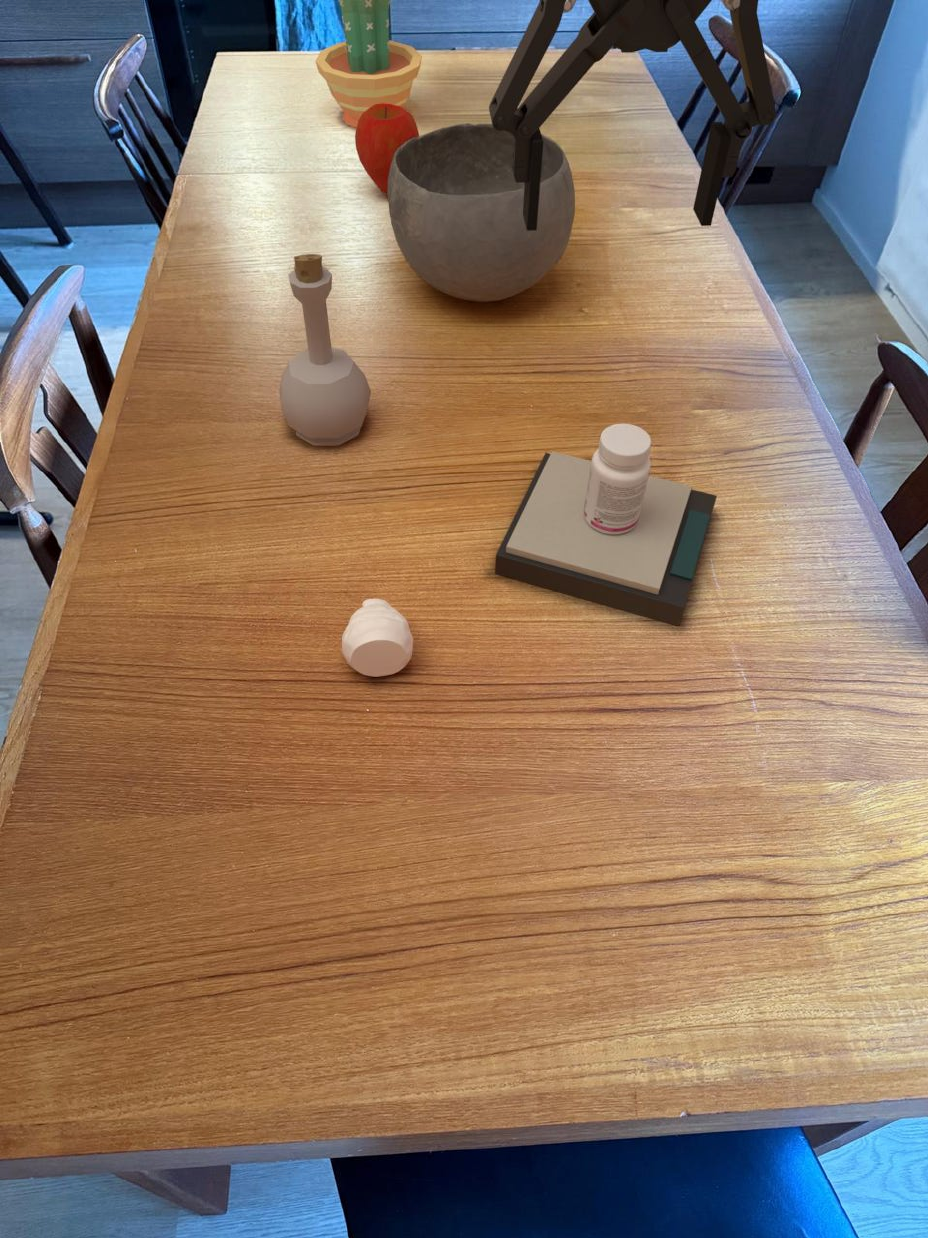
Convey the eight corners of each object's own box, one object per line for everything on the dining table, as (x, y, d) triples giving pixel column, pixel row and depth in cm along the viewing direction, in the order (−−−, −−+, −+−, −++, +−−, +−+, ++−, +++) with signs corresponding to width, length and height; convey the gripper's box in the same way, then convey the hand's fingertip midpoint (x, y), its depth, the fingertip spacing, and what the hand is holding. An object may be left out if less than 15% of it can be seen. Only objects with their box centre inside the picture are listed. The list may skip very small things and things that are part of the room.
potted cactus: (383, 88, 142) (373, -111, 123) (444, 120, 135) (443, -87, 115) (301, 113, 136) (276, -93, 116) (360, 148, 128) (344, -65, 109)
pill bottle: (650, 524, 76) (668, 446, 70) (604, 543, 75) (619, 466, 68) (617, 490, 79) (632, 412, 72) (572, 508, 77) (583, 431, 71)
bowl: (581, 253, 111) (596, 124, 99) (546, 346, 98) (558, 211, 86) (422, 229, 114) (419, 102, 102) (368, 316, 101) (358, 182, 90)
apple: (346, 187, 121) (338, 100, 112) (400, 172, 124) (397, 86, 116) (378, 213, 116) (372, 125, 108) (433, 196, 119) (432, 109, 111)
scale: (711, 514, 82) (719, 488, 79) (678, 626, 73) (686, 601, 71) (543, 471, 85) (546, 445, 83) (494, 573, 77) (496, 547, 74)
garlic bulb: (408, 616, 74) (405, 572, 69) (416, 675, 70) (414, 632, 66) (341, 623, 73) (334, 579, 69) (345, 683, 69) (339, 640, 65)
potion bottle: (288, 458, 86) (257, 285, 72) (282, 401, 91) (252, 230, 77) (379, 447, 87) (366, 275, 73) (367, 392, 92) (353, 222, 79)
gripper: (849, -145, 56) (759, 192, 73) (454, -144, 55) (453, 200, 71) (894, -115, 52) (787, 239, 68) (463, -113, 50) (460, 248, 67)
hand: (616, 220), depth 70 cm, fingers open, 13 cm apart
